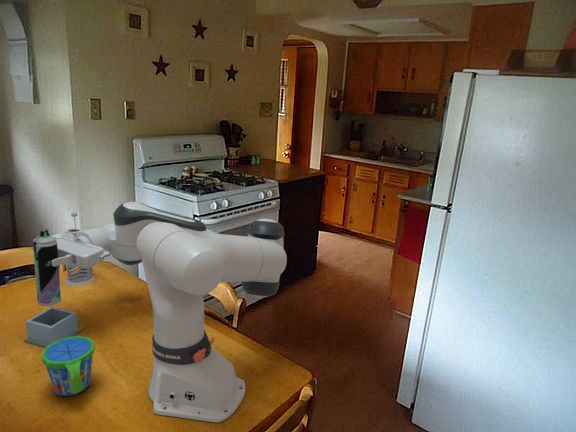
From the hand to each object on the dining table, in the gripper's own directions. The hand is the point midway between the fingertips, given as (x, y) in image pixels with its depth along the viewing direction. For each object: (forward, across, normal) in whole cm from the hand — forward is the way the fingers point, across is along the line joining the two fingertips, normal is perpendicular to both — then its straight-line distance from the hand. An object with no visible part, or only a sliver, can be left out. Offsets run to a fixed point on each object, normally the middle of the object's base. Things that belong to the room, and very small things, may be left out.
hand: (42, 260), depth 109 cm
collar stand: (-1, 0, -23) cm, 23 cm away
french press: (-28, +24, -23) cm, 43 cm away
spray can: (0, 0, -12) cm, 12 cm away
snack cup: (+10, -22, -23) cm, 33 cm away
